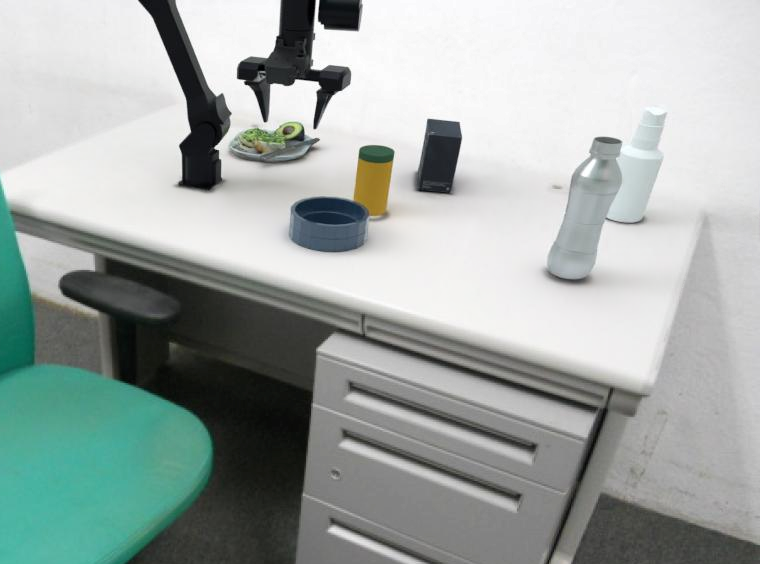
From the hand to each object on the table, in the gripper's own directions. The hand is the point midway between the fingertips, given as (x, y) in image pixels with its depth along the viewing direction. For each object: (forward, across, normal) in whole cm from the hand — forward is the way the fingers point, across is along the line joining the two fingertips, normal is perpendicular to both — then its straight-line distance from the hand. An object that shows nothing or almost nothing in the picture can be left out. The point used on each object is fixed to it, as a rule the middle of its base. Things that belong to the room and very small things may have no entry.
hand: (290, 125), depth 135 cm
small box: (+12, +24, +17) cm, 32 cm away
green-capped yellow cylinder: (+12, +17, -4) cm, 21 cm away
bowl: (+12, +13, -18) cm, 25 cm away
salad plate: (+12, -11, +22) cm, 27 cm away
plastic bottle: (+12, +50, -14) cm, 53 cm away
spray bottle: (+12, +57, +15) cm, 60 cm away
